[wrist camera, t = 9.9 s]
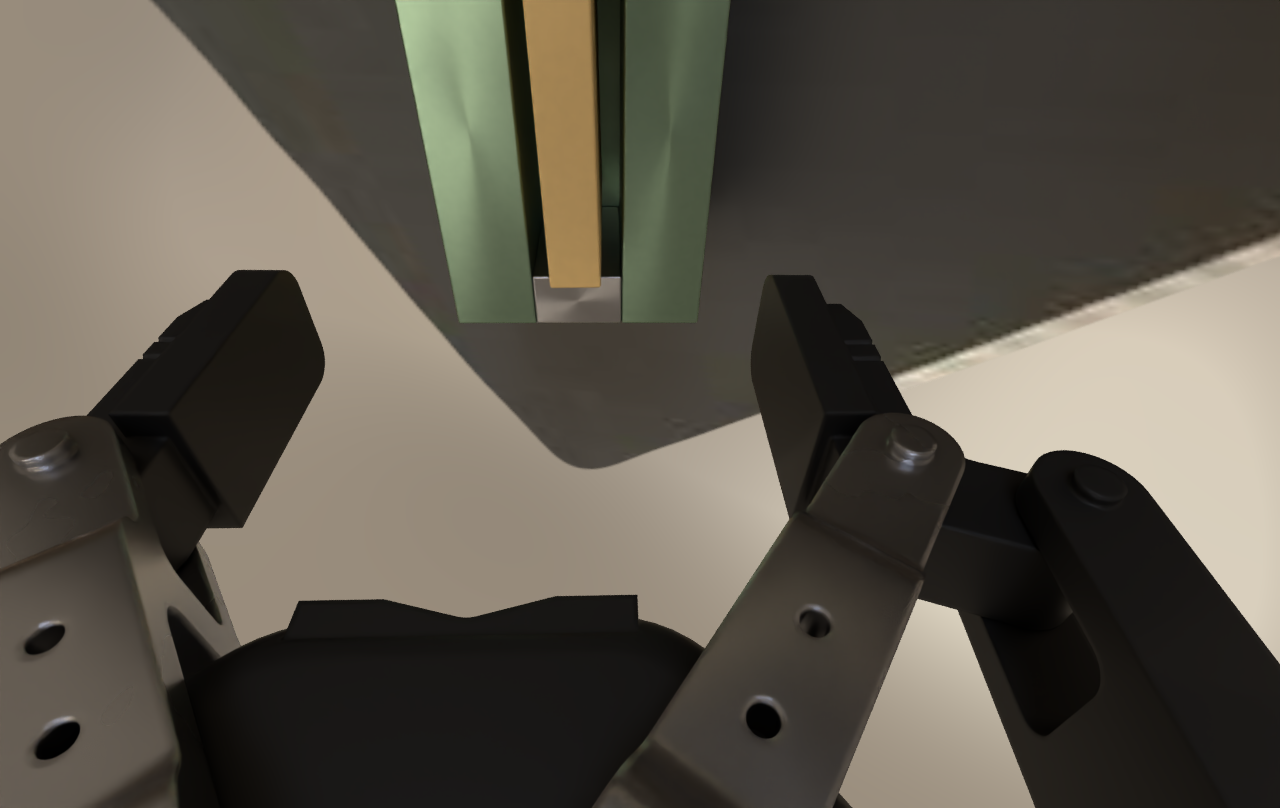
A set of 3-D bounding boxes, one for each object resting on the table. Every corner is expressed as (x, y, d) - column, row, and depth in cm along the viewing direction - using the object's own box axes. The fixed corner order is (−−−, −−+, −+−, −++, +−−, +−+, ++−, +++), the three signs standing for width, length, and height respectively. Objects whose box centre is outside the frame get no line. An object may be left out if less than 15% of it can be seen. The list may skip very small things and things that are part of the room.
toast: (547, -55, 21) (520, -16, 14) (595, -55, 21) (590, -15, 14) (563, 182, 26) (550, 289, 19) (602, 182, 26) (600, 288, 20)
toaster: (442, -178, 21) (354, -197, 14) (700, -168, 22) (750, -182, 14) (494, 210, 31) (458, 324, 23) (675, 211, 31) (697, 323, 24)
